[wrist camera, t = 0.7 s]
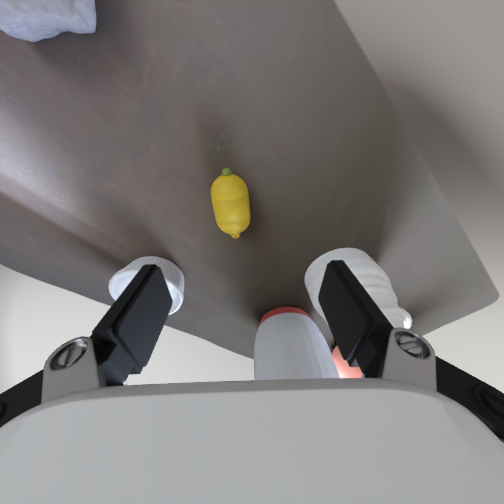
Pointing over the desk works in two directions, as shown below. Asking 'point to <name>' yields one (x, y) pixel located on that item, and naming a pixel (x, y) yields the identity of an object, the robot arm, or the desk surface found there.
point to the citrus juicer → (291, 347)
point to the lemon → (230, 203)
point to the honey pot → (366, 275)
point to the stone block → (46, 18)
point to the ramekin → (168, 269)
